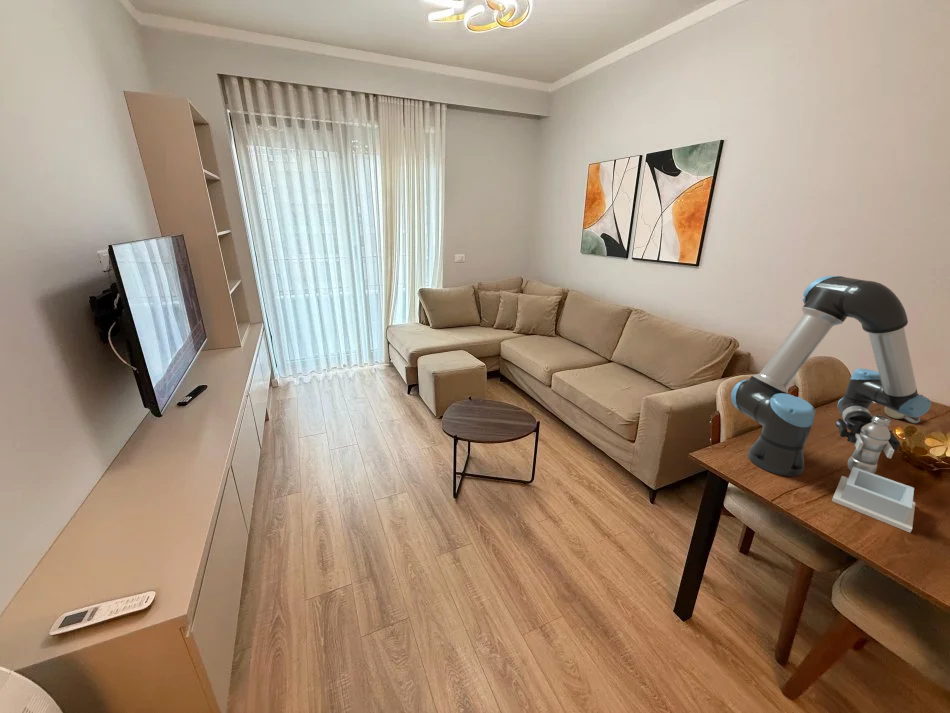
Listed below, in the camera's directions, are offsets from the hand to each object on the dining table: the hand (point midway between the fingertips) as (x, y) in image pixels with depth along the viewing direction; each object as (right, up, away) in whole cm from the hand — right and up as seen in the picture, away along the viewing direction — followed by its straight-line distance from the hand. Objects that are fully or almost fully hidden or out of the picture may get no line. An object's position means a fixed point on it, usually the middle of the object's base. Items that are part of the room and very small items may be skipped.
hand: (875, 450), depth 117 cm
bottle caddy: (-5, -15, -4) cm, 16 cm away
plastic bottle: (+3, -9, +8) cm, 12 cm away
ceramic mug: (+59, +2, +46) cm, 75 cm away
